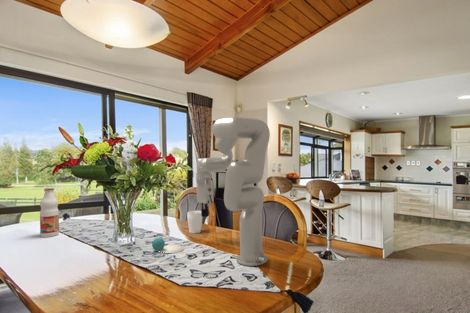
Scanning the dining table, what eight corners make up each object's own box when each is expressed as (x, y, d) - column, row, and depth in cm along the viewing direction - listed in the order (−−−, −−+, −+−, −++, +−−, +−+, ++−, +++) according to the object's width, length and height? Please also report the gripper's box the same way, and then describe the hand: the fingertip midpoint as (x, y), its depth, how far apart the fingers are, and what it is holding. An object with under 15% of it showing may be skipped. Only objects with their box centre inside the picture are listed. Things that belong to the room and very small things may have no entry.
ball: (160, 236, 135) (150, 246, 133) (168, 244, 137) (159, 254, 134) (157, 234, 140) (148, 243, 138) (165, 242, 142) (156, 252, 139)
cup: (195, 234, 164) (194, 213, 164) (184, 232, 170) (183, 212, 170) (205, 231, 171) (205, 211, 172) (195, 229, 177) (194, 209, 177)
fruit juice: (62, 234, 172) (61, 187, 172) (46, 238, 163) (45, 189, 163) (53, 232, 176) (52, 187, 176) (36, 236, 168) (36, 188, 168)
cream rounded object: (189, 249, 138) (189, 249, 138) (164, 255, 129) (164, 255, 129) (176, 243, 148) (176, 243, 148) (152, 249, 139) (152, 248, 139)
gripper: (218, 181, 148) (218, 217, 148) (202, 180, 160) (203, 213, 160) (206, 182, 143) (206, 219, 143) (190, 181, 155) (191, 215, 155)
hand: (204, 216), depth 151 cm, fingers closed
